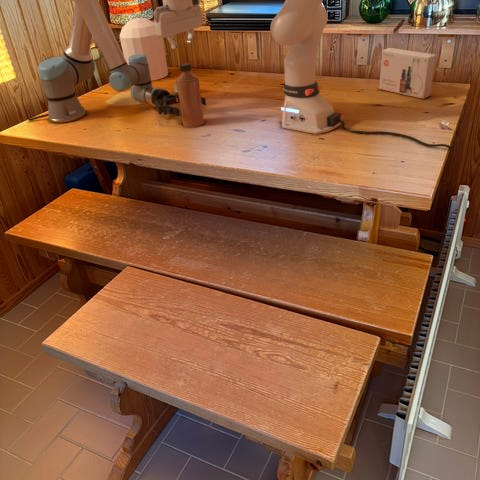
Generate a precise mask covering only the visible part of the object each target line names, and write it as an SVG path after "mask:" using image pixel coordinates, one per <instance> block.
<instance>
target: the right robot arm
mask: <svg viewBox="0 0 480 480" xmlns="http://www.w3.org/2000/svg"><path fill="white" fill-rule="evenodd" d="M323 1H324V0H284V3H283V4H282V6H281V8H280V10H279V11H278V12H277V14H276V15H275V16H274V17H273V18H272V20H271V22H270V26H269V27H270V28H269V30H270V35H271V38H272V39H273V41H274V42H275V43H276V44H277V45H280V46H282V47H285V46H287V47H288V46H289V48H288V51H287V53H286V56H284V57H285V58H284V62H283V67H284V68H283V69H284V82H283V89H282V90H283V94H284V103H283V107H280V109H281V111H282V116H281V120H280V121H281V128H282V129H288V130H292V131H298V132H303V133H309V134H313V135H314V134H315V135H319V134H324V133H328V132H331V131H332V130H335V129H337V128H338V127H339V126H340V125H341V124H342V125H341V129H342V130H344V131H348V132H350V133H354V134H365V135H366V134H367V135H368V134H369V135H370V134H373V135H374V134H375V135H377V134H379V135H380V134H381V135H390V136H397V137H402V138H406V139H409V140H412V141H414V142H416V143H418V144H420V145H423V146H426V147H430V148H434V147H445V148H447V149H449V150H450V151H451V152H454V151H455V150H454V148H453V147H452V146H451V145H448V144H445V143H427V142H424V141H422V140H419V139H417V138H415V137H413V136H410V135H407V134H403V133H398V132H391V131H377V130H376V131H373V130H372V131H369V130H368V131H367V130H349V129H347V128H345V121H344V120H342V113H340V112H335V110H334V109H335V108H334V106H333V105H332V104H331V103H330V102H329V101H328V100H327V99H326V98H325V97H324V96H323V95H322V94H321V93H320V90H321V89H322V86H323V85H322V84H320V85H319V84H318V81H317V57H318V51H319V48H320V47H319V46H320V42H321V38H322V35H323V31H324V29H325V27H326V25H327V23H328V12H327V9H326V7H325V6H323V4H322V3H323ZM200 5H201V0H162V5H161V6H157V7H156V8H155V10H154V12H153V18H154V20H153V22H154V25H155V34H156V35H157V37H160V38H162V39H165V38H166V39H167V41H168V42H169V43H170V46H171V49H172V50H175V49H178V47H179V46H178V42H176V41H175V35H178V34H181V33H185V32H187V38H185V40H186V44H187V45H191V44H193V43H194V34H195V30H196V29H198V28H202V27H203V24H204V18H203V17H204V16H203V10H202V7H201V6H200ZM453 199H454V198H451V199H450V200H449V203H448V207H447V212H446V216H445V222H444V227H443V231H442V234H441V240H440V244H439V249H438V255H437V259H436V262H437V263H440V261H441V260H440V259H441V254H442V249H443V244H444V239H445V236H446V232H447V227H448V223H449V218H450V214H451V209H452V206H453V205H452V203H453Z"/></svg>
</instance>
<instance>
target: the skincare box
mask: <svg viewBox="0 0 480 480" xmlns="http://www.w3.org/2000/svg"><path fill="white" fill-rule="evenodd" d="M436 57H437V54H435V53H427V52H423V51H422V52H420V51H413V50H407V49H400V48H395V47H394V48H393V47H387V48H385V49H382V50H381V61H380V74H379V86H378V87H379V88H378V89H379V90H383V91H387V92H391V93H395V94H399V95H405V96H409V97H414V98H418V99H422V100H424V99H426V98H428V97H430V96H431V91H432V86H433V85H432V84H433V78H434V73H435V72H434V71H435V70H434V69H435V64H436Z"/></svg>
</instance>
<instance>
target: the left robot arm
mask: <svg viewBox="0 0 480 480" xmlns="http://www.w3.org/2000/svg"><path fill="white" fill-rule="evenodd" d="M71 1H73V2H74V6H73V12H72V13H73V14H72V20H71V26H70V34H69V39H68V45H66V46H64V48H63V53H62V56H54V57H53V56H52V57H50V58H46V59H44V60H42V61H40V63H39V64H38V65H37V70H38V76H39V78H40V81H41V85H42V87H43V91H44V93H45V97H46V99H47V102H48V103H47V109H48V110H47V111H48V113H45V114H41V115H37V116H34V117H31V118H30V117H29V118H27V119H28V121H29V122H30V121H35V120H38V119H41V118H45V117H48V120H49V122H51V123H55V124H63V123H70V122H74V121H78V120H80V119H82V118H83V117H85V116H86V110H85V108H84V106H83V105H82V104H81V101H80V100H79V98H78V97H77V93H76V90H75V87H76V86H78V85H81V84H82V83H84V82H86V81H88V80H89V79H91V78H92V77H93V76H94V74H95V72H96V63H95V62H94V57H93V53H92V52H91V48H92V47H91V46H92V41H93V40H94V42H95V45H96V46H97V49H98V51H99V52H100V54H101V56H102V59H103V60H104V62H105V65H106V66H107V69H108V71H109V73H110V75H109V77H108V83H109V85H110V87H111V89H113V90H114V91H116V92H119V93H121V92H124V91H127V90H129V89H130V96H131V98H132V99H133V100H134V101H135V102H138V103H141V104H144V105H149V106H152V108H153V109H155V110H156V111H157V113H158V115H162V114H163V115H164V116H167V115H168V114H170V115H174V116H177V117H179V116H180V114H181V113H180V108H179V107H176V106H173V105H180V102H179V96H178V92H177V94H176V93H175V94H173V93H170V92H169V91H168V90H167V89H163V88H160V87H155V86H153V82H152V81H151V77H150V71H149V66H148V65H149V64H148V62H147V58H146V56H145V55H143V54H137V55H132V56H130V57H129V59H128V60H129V65H128V64H127V62H126V60H125V57H124V54H123V50H122V48H121V47H120V45H119V42H118V41H117V38H116V36H115V34H114V31H113V30H112V28H111V26H110V23H109V21H108V18H107V17H106V15H105V13H104V11H103V9H102V7H101V4H100V0H71ZM201 101H202V106H206V105H207V100H206V97H202V96H201Z"/></svg>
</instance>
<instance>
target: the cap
mask: <svg viewBox="0 0 480 480" xmlns="http://www.w3.org/2000/svg"><path fill="white" fill-rule="evenodd" d="M179 70H180V72H182V73H183V72H186V71H190V72H191V71H192V64H191V63H190V62H183V63H180V64H179Z"/></svg>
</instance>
